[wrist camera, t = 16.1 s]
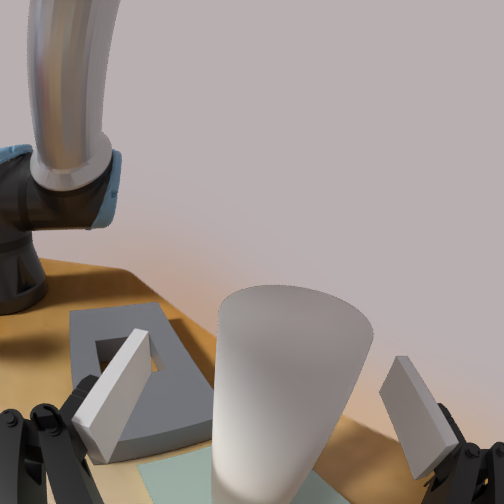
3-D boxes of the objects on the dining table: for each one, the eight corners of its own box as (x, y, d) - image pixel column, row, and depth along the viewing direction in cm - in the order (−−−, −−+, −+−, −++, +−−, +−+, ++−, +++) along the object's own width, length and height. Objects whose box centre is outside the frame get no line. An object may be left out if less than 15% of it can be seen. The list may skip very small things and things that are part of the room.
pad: (137, 468, 15) (136, 465, 15) (267, 427, 22) (268, 423, 21) (214, 594, 6) (214, 595, 5) (358, 515, 12) (361, 512, 12)
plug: (198, 490, 14) (193, 295, 9) (257, 467, 17) (303, 278, 12) (234, 541, 10) (285, 392, 5) (297, 511, 13) (400, 332, 8)
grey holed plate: (73, 331, 30) (69, 310, 29) (158, 321, 36) (157, 301, 35) (93, 464, 14) (82, 446, 13) (228, 433, 20) (230, 413, 20)
